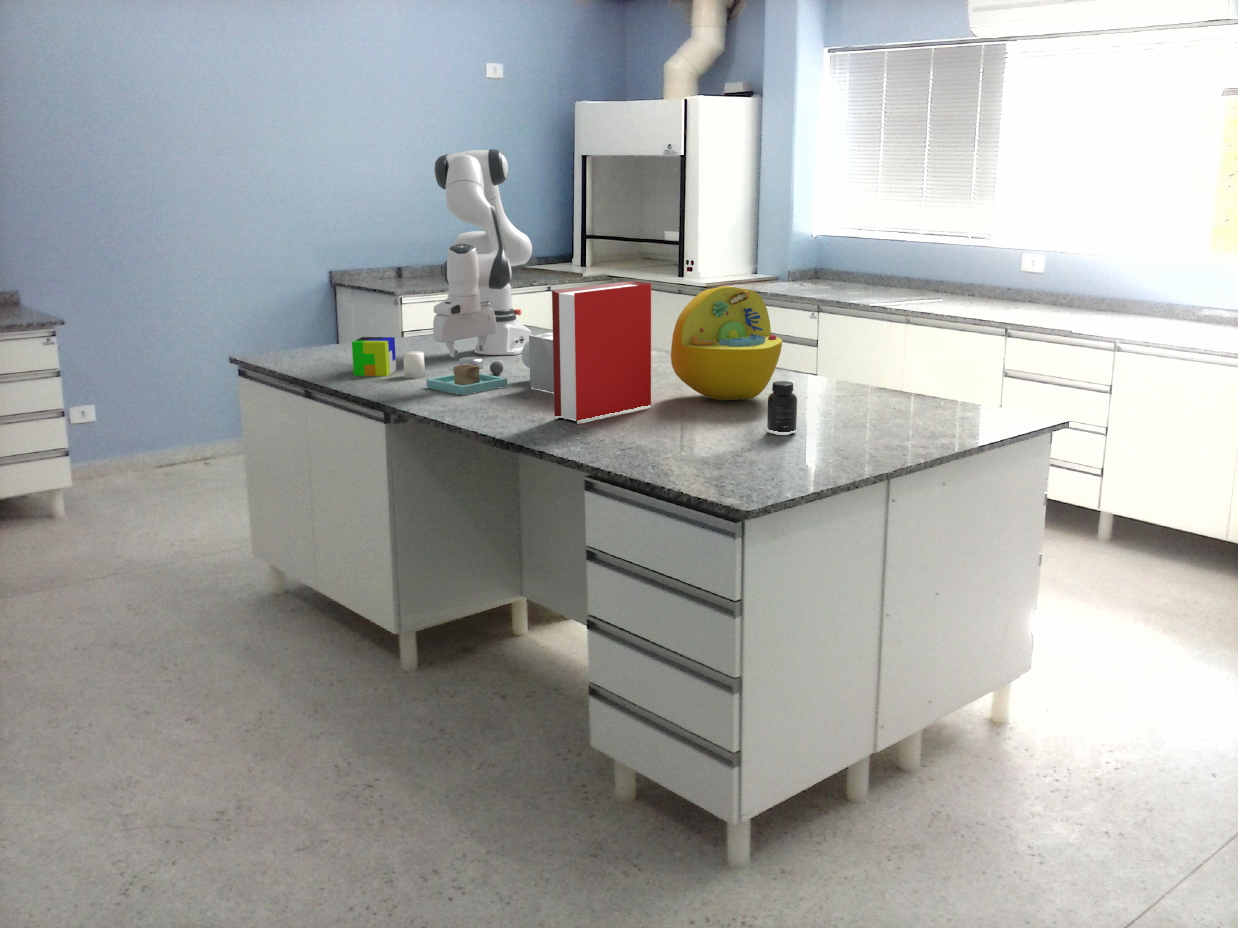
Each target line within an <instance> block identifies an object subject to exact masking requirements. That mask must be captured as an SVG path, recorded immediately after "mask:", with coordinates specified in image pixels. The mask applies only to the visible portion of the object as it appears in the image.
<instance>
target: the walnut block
mask: <svg viewBox="0 0 1238 928" xmlns="http://www.w3.org/2000/svg"><path fill="white" fill-rule="evenodd" d="M479 373H480V369H479V366H476V365H470V364H465V365H460V364H459V365H454V366H453V374H454V384H458V385H462V386H465V385H470V384H475V383H480V377H479Z"/></svg>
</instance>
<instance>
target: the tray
mask: <svg viewBox="0 0 1238 928" xmlns="http://www.w3.org/2000/svg"><path fill="white" fill-rule="evenodd" d="M479 377H480V383H475V384H470V385H465V386H462V385H458V384H454V373H453V374H449V375H443V376H437V377H433V378H427V379H425V380H426V382H425V383H426V388H427V387H428V388H427V389H430V388H431V390H435V389H436V391H439V390H442V391H441V392H444V391H445V392H446V393H449V392H452V393H451V394H453V393H458V394H462V395H461V396H463V395H464V396H466V395H465V394H468V393H474V392H479V393H482V392H481V391H484V390H489V391H491V390H490V389H494V390H497V389H496V388H499V387H504V388H506V387H505V386H507V387H508V378H507V377H502V376H498V375H493V374H492V375H491V374H485V373H480V372H479ZM499 389H500V388H499ZM484 392H485V391H484ZM458 394H457V395H458ZM474 394H475V393H474Z"/></svg>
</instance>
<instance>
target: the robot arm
mask: <svg viewBox="0 0 1238 928" xmlns="http://www.w3.org/2000/svg"><path fill="white" fill-rule="evenodd" d="M508 172H509V164H508V160H507V158H506V157H505V154H504V153H503V152H502V151H501V150H499V149H493V148H490V149H489V150H488V149H476V150H475V149H473V150H468V151H460V152H455V153H450V154H448V153H447V154H444V155H441V156H438V158H437V159H436V160H435V162H434V169H433V173H434V179H435V181H436V184H437V185H438V187H440V188H441V189H443V190H445V200H446V206H447V209H448V211H449V212H450V213H451V215H452V216H454V217H455V218H456V219H457V220H458V221H461V222H463V223H467V224H470V225H474V226H475V227H477V228H479V229H481V230H482V231H481V230H480V231H479V230H473V231H467V232H463V233H460V234H459V235H457V237H456V239H455V240H454V244H453V245H451V246H450V247H449V248H448V249H447V251H448V252H447V257H446V258H447V259H446V260H445V261H444V263H443V274H444V275H443V276H444V277H443V278H444V282H445V283H446V284H447V285H448V291H447V296H448V297H447V298H445V299H444V300H442V301H440V302H439V303H437V304H435V305H434V306H433V313H434V314H435V315H434V317H433V320H432V321H433V322H432V323H433V324H432V327H433V328H432V329H433V330H432V331H433V333H432V334H433V339H434V340H435V342H437V343H445V346H446V347H447V350H449V357H452V358H457V357H458V356H459V354H458V350H457V349H456V348H455V346H454V345H455V341H456V342H457V341H461V340H465V339H472V338H476V343H475V349H474V353H475V354H479V355H487V356H489V355H490V356H498V355H499V356H503V355H504V356H505V355H507V356H515V355H520V354H522V350H523V347H524V345H525V344H526V343H527V342H528V341H529V336H530V335H533V334H532V333H533V332H532V331H531V329H530V328H528V327H527V326H525V325H524V324H523V323H522V322H520V321H519V320H518V319H517V316H521V315H522V314H523V310H522V309H521V308H515V309H513V304H512V303H513V301H512V300H513V299H512V286H511V284H510V282H511V280H512V275H513V274H512V273H513V272H512V267H516V266H520V265H525V264H526V263H528V262H529V260H530V259H531V257H532V253H533V245H532V241H531V239H530V237H529V236H528V235H527V234H525V233H524V232H522V231H520V230H519V229H518V228H517V227H515V226H514V224H513V223H512V221H511V220H509V218H508V217H507V215H506V213H505V210H504V207H503V203H502V199H501V194H500V193H501V192H500V189H499V185H501V184H503V183H505V181H506V180H507V178H508V174H509V173H508Z"/></svg>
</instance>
